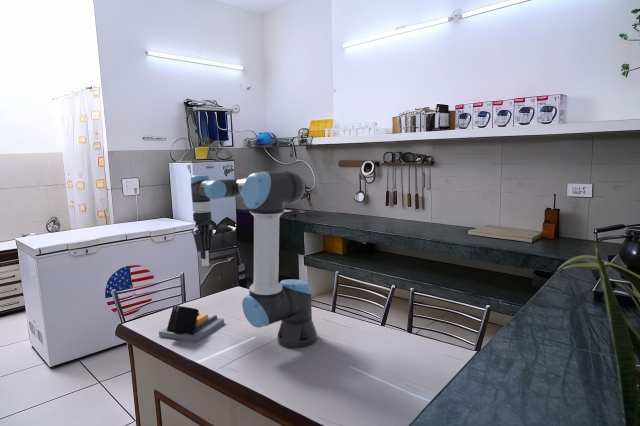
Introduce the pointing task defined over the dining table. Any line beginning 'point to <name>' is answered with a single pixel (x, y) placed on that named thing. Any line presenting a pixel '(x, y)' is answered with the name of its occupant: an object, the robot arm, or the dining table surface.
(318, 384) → the dining table surface
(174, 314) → the electronic device
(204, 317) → the orange block with knob
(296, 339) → the robot arm
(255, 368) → the dining table surface
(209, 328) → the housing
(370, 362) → the dining table surface
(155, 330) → the dining table surface
